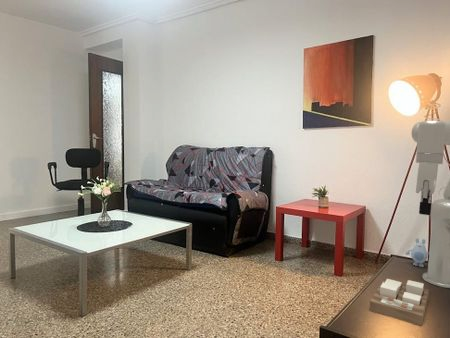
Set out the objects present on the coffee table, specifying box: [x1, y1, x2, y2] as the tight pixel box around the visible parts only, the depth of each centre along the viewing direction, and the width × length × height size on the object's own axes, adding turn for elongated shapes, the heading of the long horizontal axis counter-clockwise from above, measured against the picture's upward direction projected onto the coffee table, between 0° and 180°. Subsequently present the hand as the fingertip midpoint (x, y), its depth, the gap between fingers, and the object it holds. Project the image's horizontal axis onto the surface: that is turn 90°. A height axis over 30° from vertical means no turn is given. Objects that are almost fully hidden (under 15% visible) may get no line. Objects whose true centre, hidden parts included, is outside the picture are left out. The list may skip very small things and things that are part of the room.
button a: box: [385, 278, 403, 291], centre depth 116 cm, size 5×5×3 cm
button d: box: [402, 292, 421, 306], centre depth 106 cm, size 5×5×3 cm
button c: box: [379, 282, 398, 299], centre depth 109 cm, size 5×5×3 cm
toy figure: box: [405, 237, 429, 268], centre depth 145 cm, size 11×6×12 cm, turn 56°
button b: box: [405, 279, 425, 296], centre depth 112 cm, size 5×5×3 cm
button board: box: [369, 278, 430, 327], centre depth 109 cm, size 22×14×4 cm, turn 145°
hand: (424, 214), depth 112 cm, fingers closed
